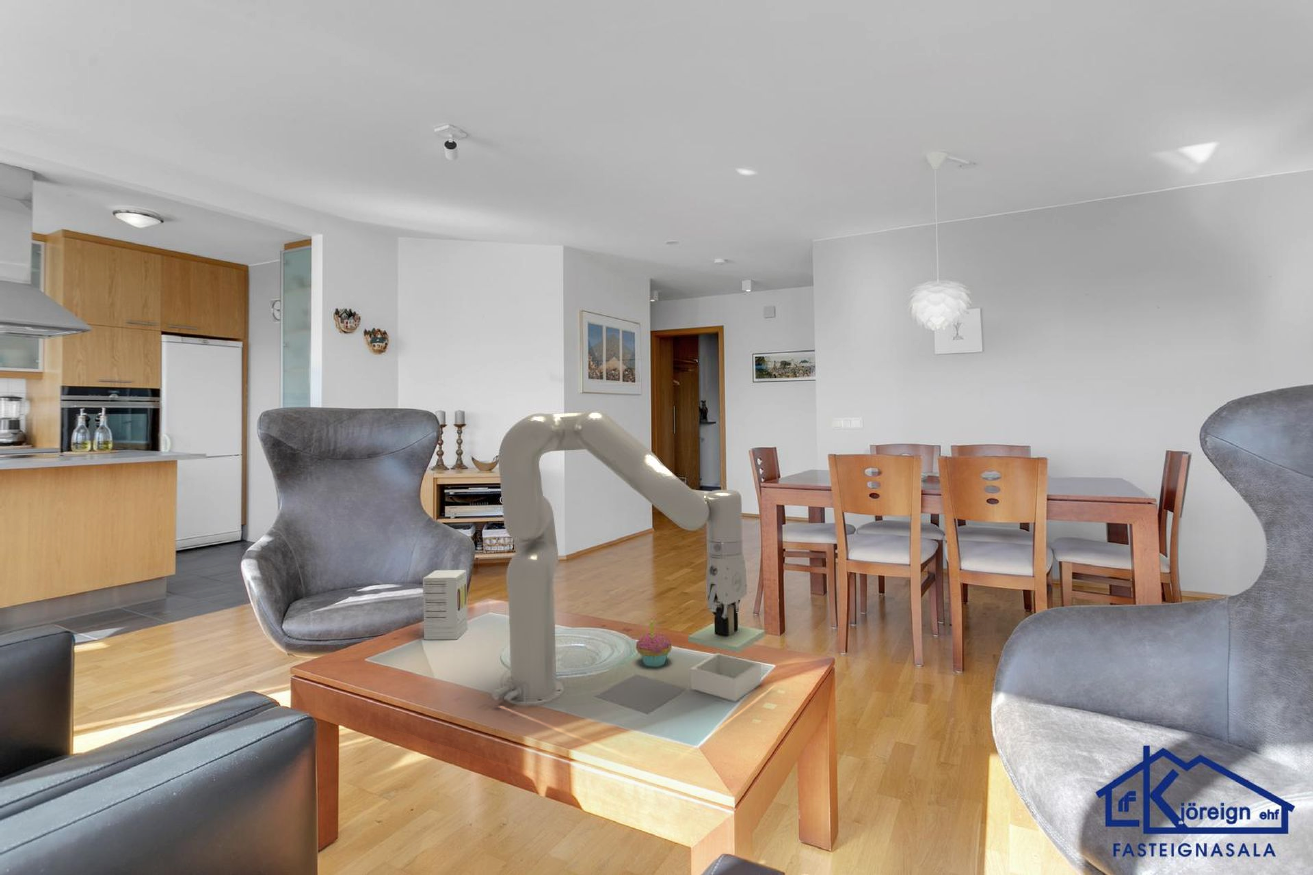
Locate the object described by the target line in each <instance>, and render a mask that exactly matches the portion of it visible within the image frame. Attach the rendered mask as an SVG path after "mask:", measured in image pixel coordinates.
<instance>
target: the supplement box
mask: <svg viewBox="0 0 1313 875" xmlns="http://www.w3.org/2000/svg"><path fill="white" fill-rule="evenodd" d="M467 579H468V578H467V569H453V570H452V569H448V570H447V569H445V570H444V569H440V570H438V569H437V570H433V571H432V572H431V573H429V574H428V575H426V576H424V577H423V578H422V597H423V598H422V600H423V608H422V609H423V638H424V640H427V641H428V640H430V641H431V640H432V641H433V640H436V641H437V640H458V639H459V638H460V637H461V636H462V635H463V634H464V633H465V632H466V631H467V630H468V625H469V624H468V593H467V591H468V590H467Z"/></svg>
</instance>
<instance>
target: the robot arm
mask: <svg viewBox="0 0 1313 875" xmlns="http://www.w3.org/2000/svg"><path fill="white" fill-rule="evenodd" d="M578 450H586V451H587V452H589V453H590V455H593V456H594V457H595V458H596V460H599V461H600V462H601V463H602V464H603V465H604V466H606V467H607V468H608V469H610V470H611V471H612V472H613V473H614V474H615V475H616V476H618V477H619V478H620V479H621V480H622V481H624V482H625V483H626V484H627V485H628V486H629V487H630V488H631V489H632V490H634V491H635V492H637V493H638V494H640V496H642V497H643V498H645V499H646V501H648V502H649V503H650V504H652V506H653V507H655V508H656V509H657V510H658V511H659V512H661V513H662V514H663V515H665V516H666V517H667V518H668V519H669V520H671V521H672V522H673V523H674V524H675V525H677V526H678V527H680V528H681V529H684V530H686V531H697V530H698V529H702V527H703V526H704V525H706V548H707V549H706V550H707V552H706V553H707V564H706V573H705V574H706V576H705V594H706V595H705V596H706V600H707V606H706V608H707V610H708V611H710V612H711V613H712V617H714V619H713V620H714V622H713V623H714V626H715V634H716V635H720V636H725V637H727V636H729V619H728V617H727V605H729V604H732V605H733V606H734V631H738V625H739V615H738V614H739V611H740V602H741V600H742V599H743V598H744V597H746V596H747V592H748V586H747V585H748V584H747V571H746V570H747V569H746V562H745V557H744V552H743V518H742V517H743V514H742V513H743V509H742V506H743V505H742V496H741V493H740V492H739V491H736V490H734V489H733V490H732V489H715V490H712V491H710V490H701V489H699V490H698V489H693V488H691V487H690V486H688V485H687V484H686V483H684V481H682V480H681V479H680V478H679V477H677V476H676V475H675V474H674V473H673V472H672V471H671V470H669V469H668V468H667V467H666V465H664V464H663V462H661V460H660V459H659V457H658V456H657V455H655V454H654V453H653V451H652V450H651V449H649V448H648V447H647V446H645V445H644V444H643V443H642V442H641V441H640V440H638V439H637V438H635V436H633V435H632V434H630V432H628V431H627V430H626V429H625V428H624V427H622V426H621V425H620V424H618V422H616V421H615V420H614V419H613V418H611V416H610V415H609V414H608V413H606V412H604V411H601V410H589V411H583V412H565V413H563V412H562V413H534V414H530V415H528V416H525V417H524V418H522V419H521V420H519V421H518V422H516V423H515V424H513V425H512V427H510V428H509V429H508V431H507V432H506V433H505V435H504V436H503V438H502V440H501V442H500V446H499V449H498V472H499V481H500V495H501V502H502V511H503V512H502V513H503V515H502V516H503V523H504V524H503V525H504V528H505V530H506V532H507V534H508V535H509V537H510V538H512V540H513V543H514V550H515V553H514V555H513V556H512V558H511V559H510V561H509V563H508V565H507V568H506V576H505V577H506V578H505V580H506V590H507V601H508V618H509V619H508V622H509V624H508V625H509V657H510V658H509V661H510V663H509V664H510V676H509V677H506V683H505V684H504V685H503V687H500V688H497V689H495V690H493V691H492V694H491V695H492V698H493V699H494V701H498V700H500V699H502V698H503V700H504V701H506V702H507V703H508V704H509V703H510V704H512V705H516V706H523V707H524V706H525V707H531V706H532V707H533V706H539V705H544V704H548V703H550V702H551V703H552V702H554V701H556V700H557V699H559V698H560V697H561V696H562V695H563V694H564V690H565V689H564V685H563V683H562V682H560V681H558V680H557V664H556V663H557V661H556V659H557V657H556V656H557V655H556V654H557V653H556V616H555V615H556V612H555V610H556V609H555V606H556V604H555V595H554V594H555V592H554V577H555V574H556V571H557V569H558V564H559V551H558V543H557V535H556V533H557V532H556V526H555V524H556V523H555V516H554V510H553V507H552V504H551V503H550V501H549V500H548V499H547V498H546V496H544V493H543V485H542V475H541V474H542V473H541V470H540V461H541V457H542V456H543V455H545V454H546V453H550V452H561V451H578ZM719 606H722V609H721V608H720V607H719Z"/></svg>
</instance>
